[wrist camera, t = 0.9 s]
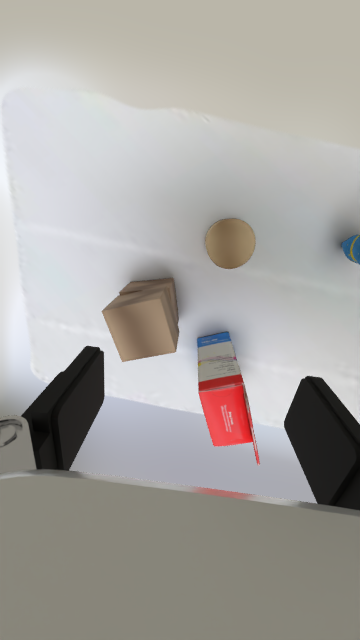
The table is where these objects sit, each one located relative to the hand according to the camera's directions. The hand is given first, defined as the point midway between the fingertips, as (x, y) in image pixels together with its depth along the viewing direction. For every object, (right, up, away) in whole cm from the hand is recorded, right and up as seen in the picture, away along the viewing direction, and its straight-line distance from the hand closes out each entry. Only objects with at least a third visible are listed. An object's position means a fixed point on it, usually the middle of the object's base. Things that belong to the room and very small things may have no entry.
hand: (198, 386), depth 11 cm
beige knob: (+5, +13, +18) cm, 22 cm away
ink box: (+5, -3, +25) cm, 25 cm away
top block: (-5, +4, +17) cm, 18 cm away
